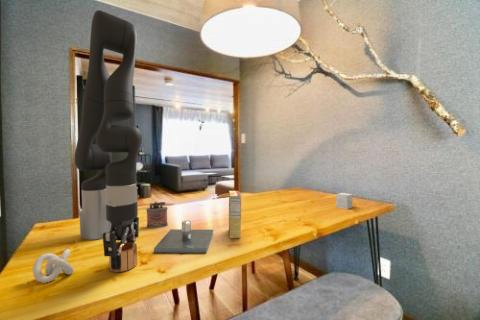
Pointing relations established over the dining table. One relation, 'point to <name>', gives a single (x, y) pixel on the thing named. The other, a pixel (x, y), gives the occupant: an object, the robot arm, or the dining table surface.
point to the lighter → (156, 215)
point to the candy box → (234, 214)
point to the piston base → (185, 240)
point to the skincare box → (344, 200)
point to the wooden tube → (126, 257)
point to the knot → (49, 268)
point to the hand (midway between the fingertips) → (123, 261)
